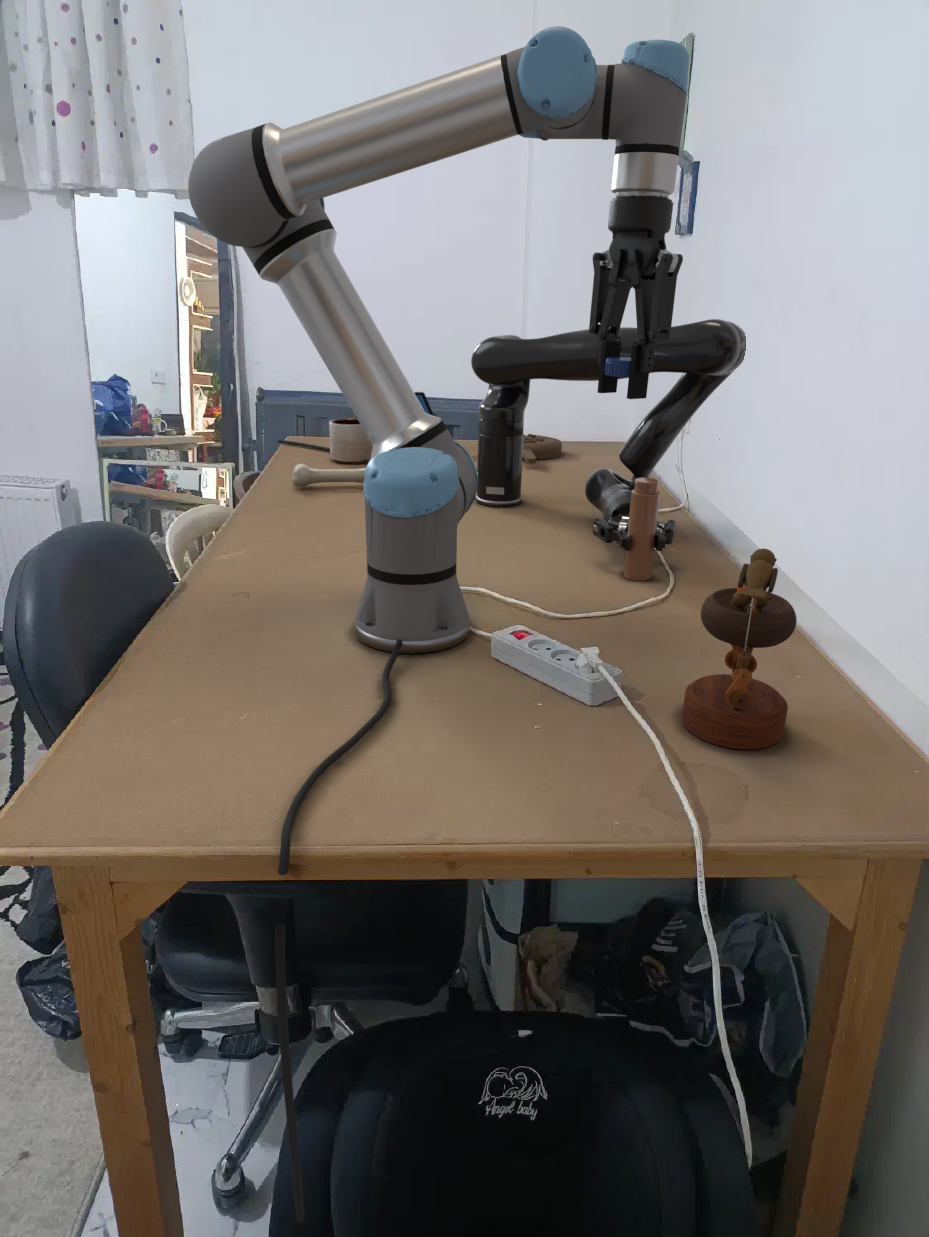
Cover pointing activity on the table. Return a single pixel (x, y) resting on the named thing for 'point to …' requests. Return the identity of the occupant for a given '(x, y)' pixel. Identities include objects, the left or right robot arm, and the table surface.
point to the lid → (617, 366)
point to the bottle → (642, 529)
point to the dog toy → (325, 475)
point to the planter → (349, 441)
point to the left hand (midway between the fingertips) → (621, 395)
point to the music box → (742, 662)
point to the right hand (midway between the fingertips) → (644, 544)
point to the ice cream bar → (540, 447)
